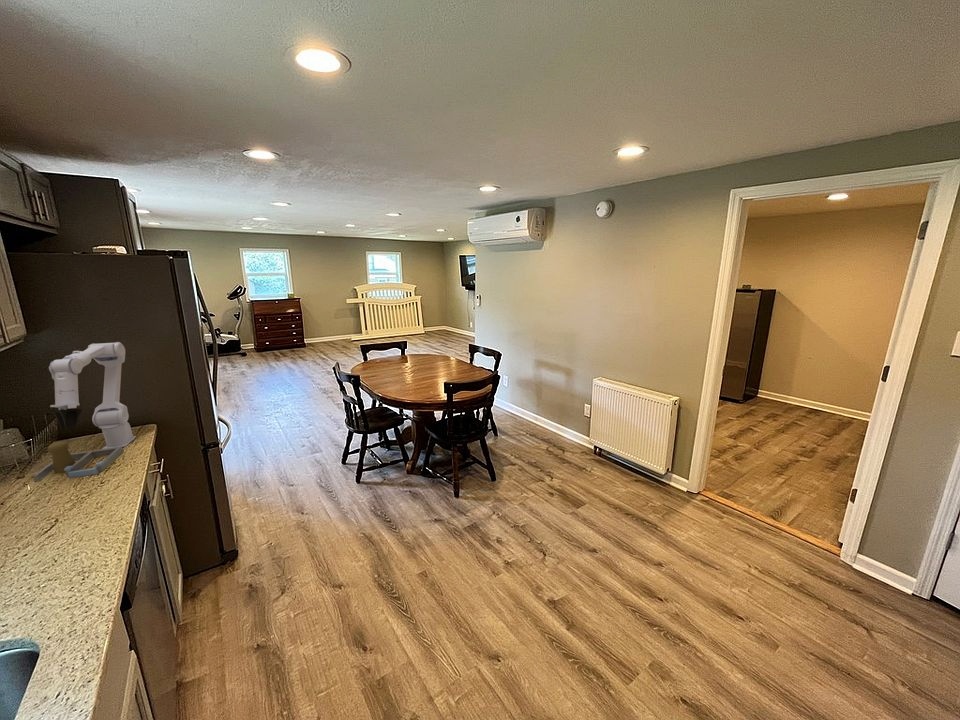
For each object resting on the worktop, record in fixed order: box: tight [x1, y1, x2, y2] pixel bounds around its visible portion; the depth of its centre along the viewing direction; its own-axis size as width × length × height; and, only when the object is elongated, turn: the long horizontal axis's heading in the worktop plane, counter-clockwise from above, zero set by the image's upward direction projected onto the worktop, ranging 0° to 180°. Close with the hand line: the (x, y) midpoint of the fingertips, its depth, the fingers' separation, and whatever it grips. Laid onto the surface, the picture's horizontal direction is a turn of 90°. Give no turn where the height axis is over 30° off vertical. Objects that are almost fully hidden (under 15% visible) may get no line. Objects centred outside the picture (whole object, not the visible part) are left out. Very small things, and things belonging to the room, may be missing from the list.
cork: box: [47, 440, 76, 474], centre depth 142 cm, size 6×6×11 cm
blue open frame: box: [32, 447, 124, 483], centre depth 145 cm, size 16×19×3 cm
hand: (68, 429), depth 135 cm, fingers open, 7 cm apart
